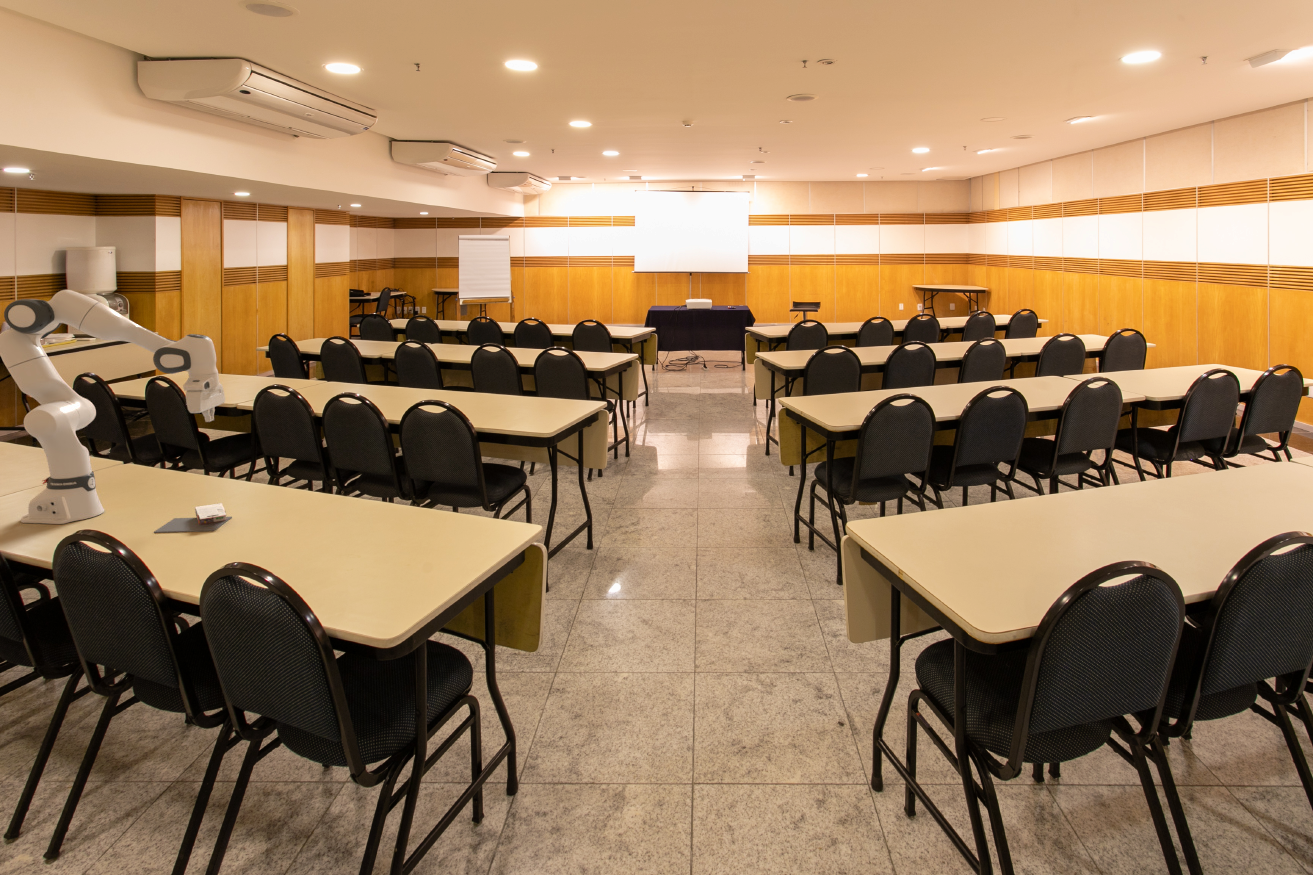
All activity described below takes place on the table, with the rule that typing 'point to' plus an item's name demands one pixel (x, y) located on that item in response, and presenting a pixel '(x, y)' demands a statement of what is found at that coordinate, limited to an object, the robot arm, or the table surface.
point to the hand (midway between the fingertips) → (209, 421)
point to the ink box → (210, 513)
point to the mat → (189, 525)
